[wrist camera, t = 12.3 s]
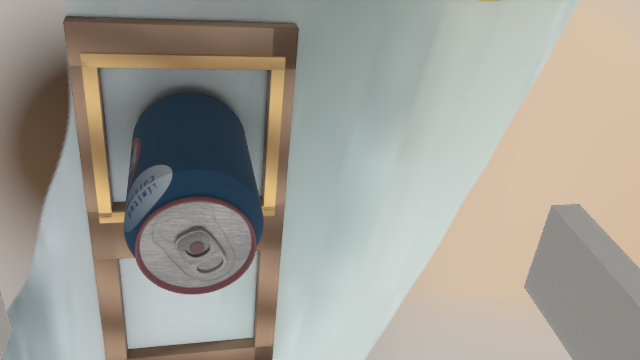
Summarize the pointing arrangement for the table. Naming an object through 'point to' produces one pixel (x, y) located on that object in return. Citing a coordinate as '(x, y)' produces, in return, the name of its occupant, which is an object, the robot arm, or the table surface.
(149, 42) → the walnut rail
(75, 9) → the table surface
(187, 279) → the soda can
